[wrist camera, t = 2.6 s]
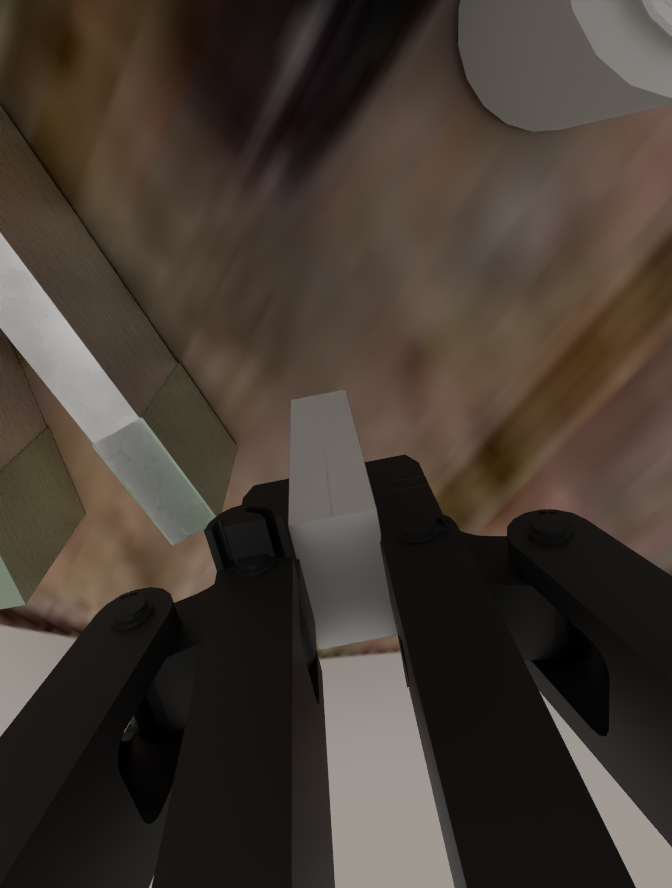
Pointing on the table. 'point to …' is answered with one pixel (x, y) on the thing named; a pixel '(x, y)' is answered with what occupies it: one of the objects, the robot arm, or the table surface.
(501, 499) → the table surface
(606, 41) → the can
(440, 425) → the table surface
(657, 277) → the table surface
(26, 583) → the base
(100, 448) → the tong jaw
